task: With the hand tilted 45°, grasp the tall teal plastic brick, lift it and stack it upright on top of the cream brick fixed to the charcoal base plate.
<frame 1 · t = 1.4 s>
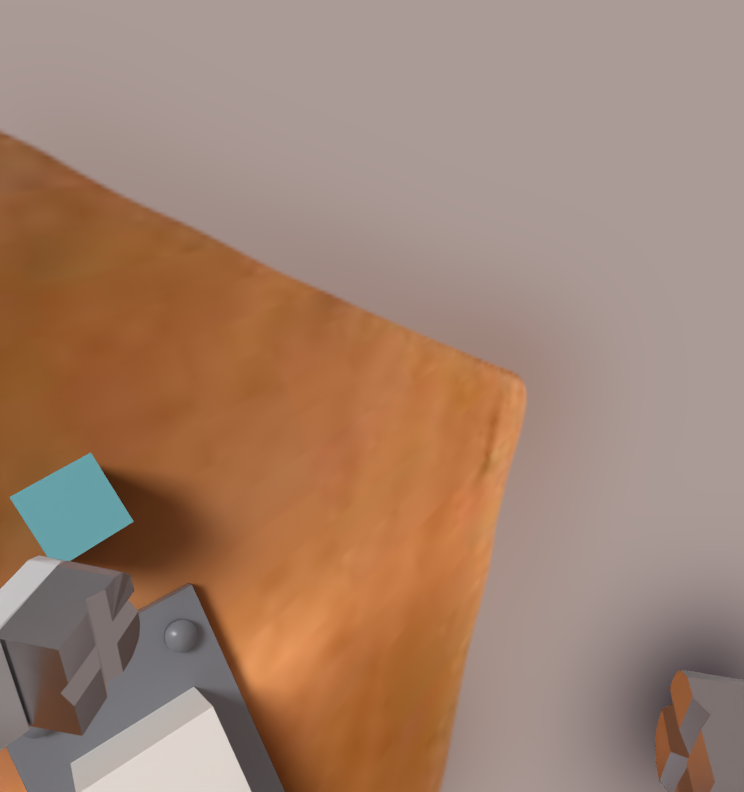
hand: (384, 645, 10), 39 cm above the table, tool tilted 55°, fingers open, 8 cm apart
stack base: (157, 773, 43), on the table
teal brick: (65, 509, 43), on the table
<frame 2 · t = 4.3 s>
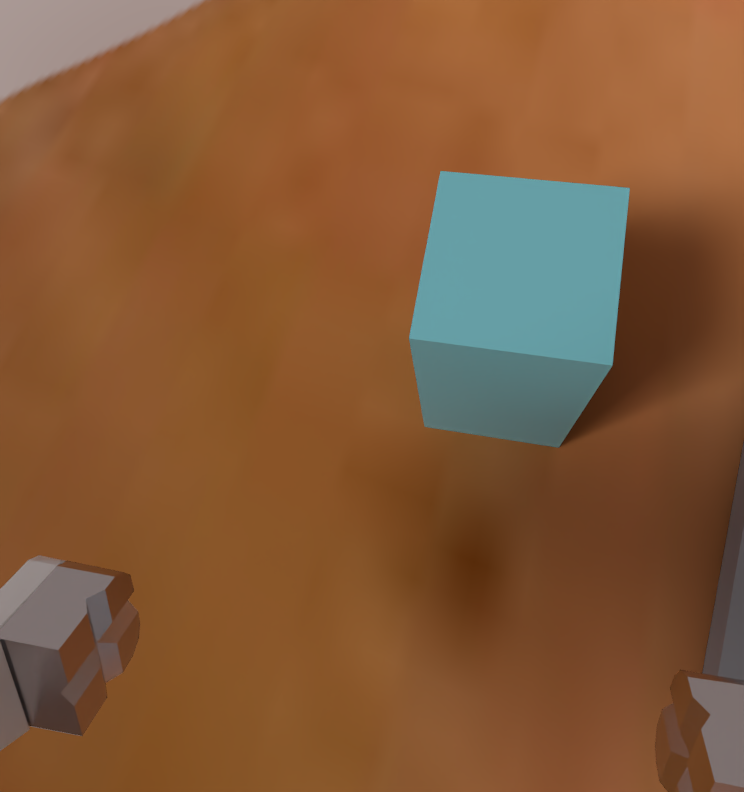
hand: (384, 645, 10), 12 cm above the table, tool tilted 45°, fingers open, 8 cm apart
teal brick: (499, 374, 23), on the table
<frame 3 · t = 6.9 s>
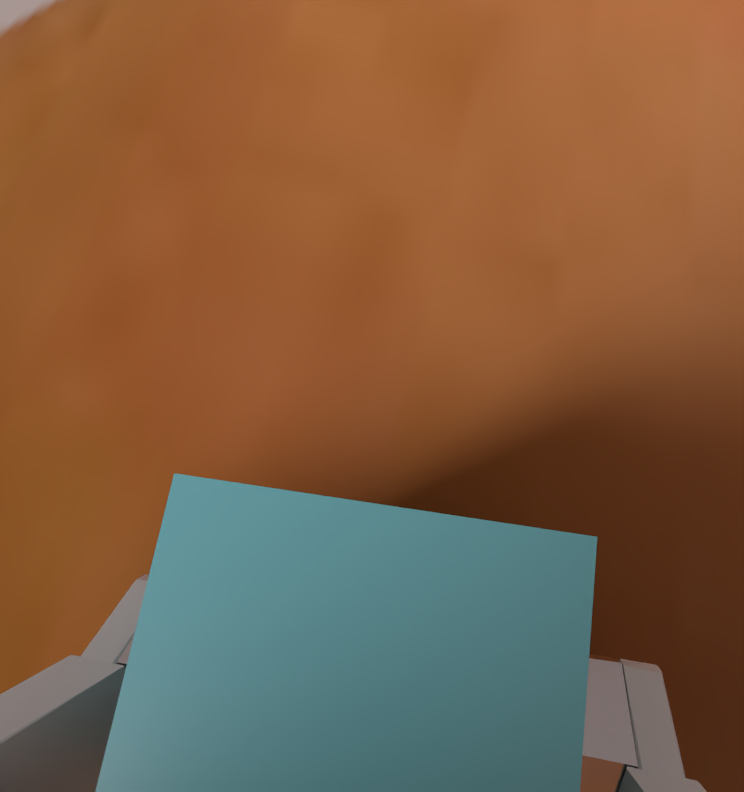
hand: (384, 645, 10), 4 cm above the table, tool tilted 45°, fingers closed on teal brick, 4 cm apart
teal brick: (400, 664, 14), on the table, touching gripper
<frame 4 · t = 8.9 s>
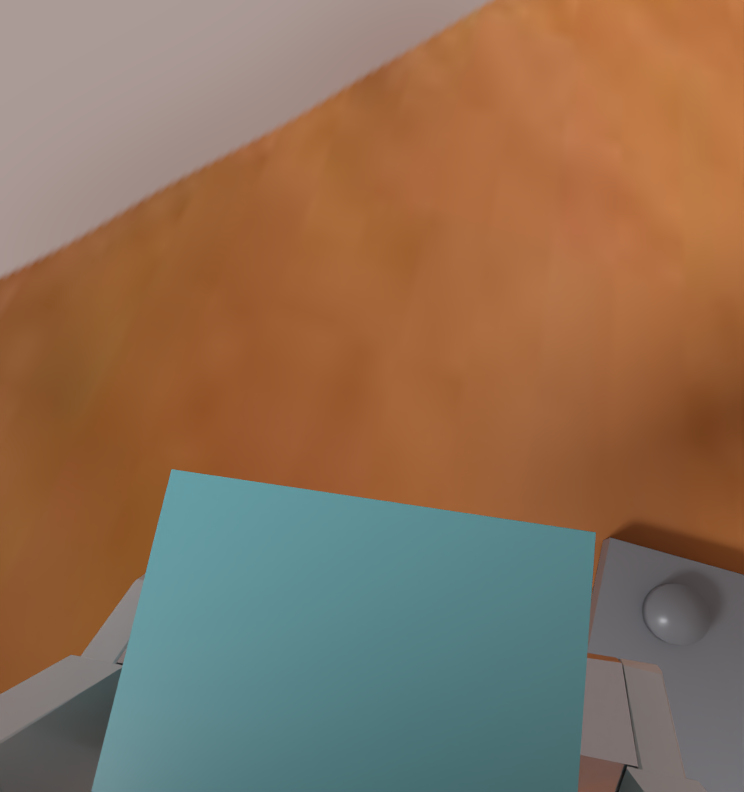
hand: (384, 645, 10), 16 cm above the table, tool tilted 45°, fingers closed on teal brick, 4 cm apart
teal brick: (400, 662, 14), point 12 cm above the table, touching gripper
when the fingers open (12 cm above the table, at t = 11.0 s): teal brick drops 1 cm, resting on stack base.
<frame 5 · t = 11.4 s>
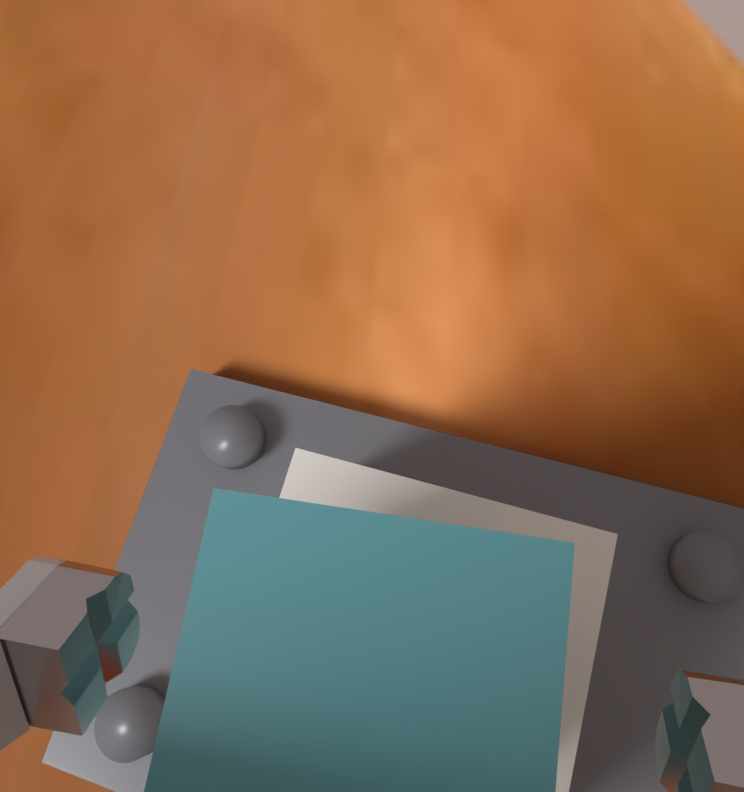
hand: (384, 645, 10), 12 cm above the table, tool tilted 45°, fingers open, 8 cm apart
stack base: (419, 642, 21), on the table
teal brick: (405, 656, 15), point 6 cm above the table, touching stack base
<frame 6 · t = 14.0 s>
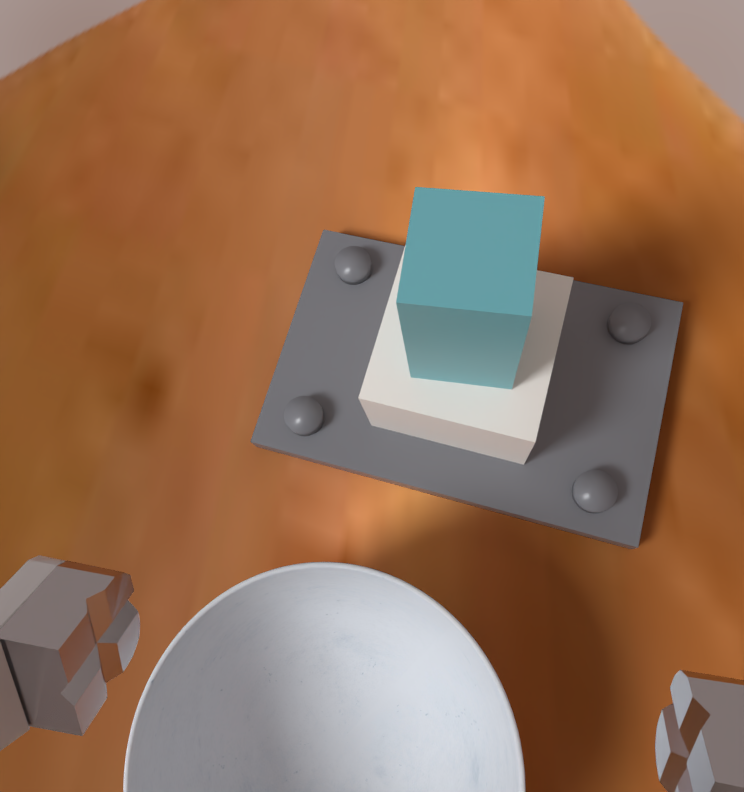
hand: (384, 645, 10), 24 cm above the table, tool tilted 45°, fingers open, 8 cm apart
stack base: (464, 379, 36), on the table
teal brick: (466, 336, 30), point 6 cm above the table, touching stack base
chinaware: (349, 731, 32), on the table
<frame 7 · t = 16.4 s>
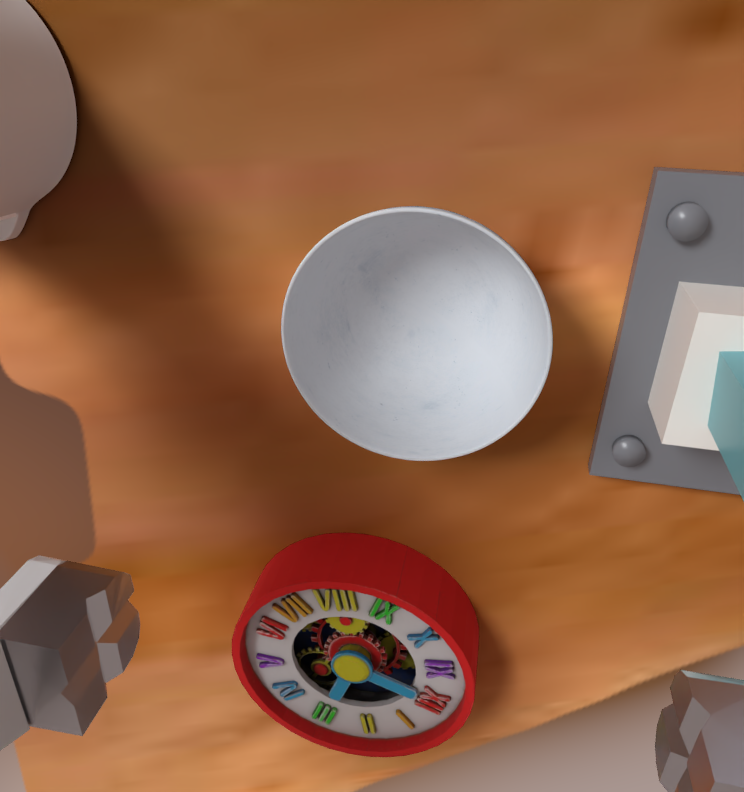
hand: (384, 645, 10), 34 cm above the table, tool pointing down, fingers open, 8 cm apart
stack base: (727, 344, 41), on the table
toy clock: (364, 619, 59), on the table
chinaware: (429, 298, 43), on the table
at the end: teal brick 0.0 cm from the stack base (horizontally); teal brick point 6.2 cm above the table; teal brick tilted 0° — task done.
